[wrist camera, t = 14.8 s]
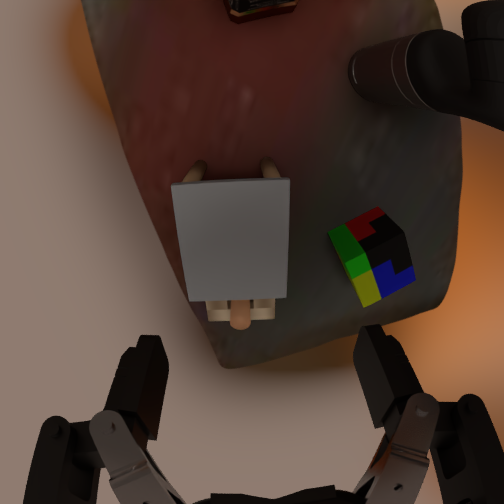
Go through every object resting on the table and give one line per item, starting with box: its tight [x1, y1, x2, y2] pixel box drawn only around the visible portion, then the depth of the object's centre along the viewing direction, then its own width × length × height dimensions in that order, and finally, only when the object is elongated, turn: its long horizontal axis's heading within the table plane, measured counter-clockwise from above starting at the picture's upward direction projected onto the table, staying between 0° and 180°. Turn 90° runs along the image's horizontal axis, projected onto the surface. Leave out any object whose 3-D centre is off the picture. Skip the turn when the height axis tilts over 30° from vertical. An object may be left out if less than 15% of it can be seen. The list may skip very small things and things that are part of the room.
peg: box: [230, 300, 251, 330], centre depth 50 cm, size 3×3×10 cm
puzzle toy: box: [328, 207, 416, 307], centre depth 46 cm, size 10×10×10 cm
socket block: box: [206, 298, 275, 321], centre depth 50 cm, size 12×18×4 cm, turn 2°
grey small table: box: [171, 157, 290, 301], centre depth 41 cm, size 13×16×13 cm
